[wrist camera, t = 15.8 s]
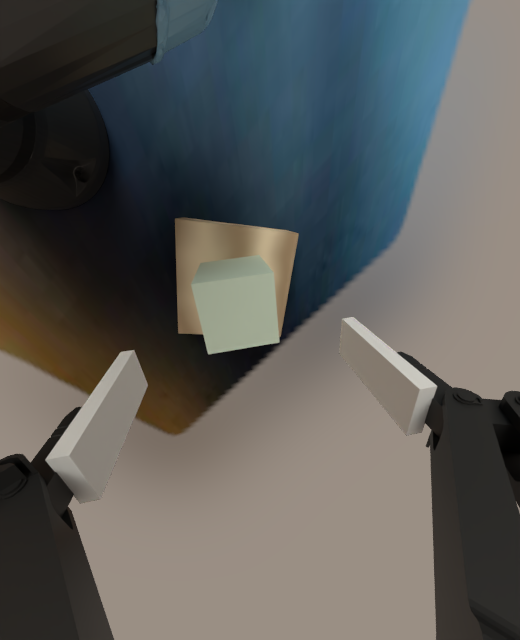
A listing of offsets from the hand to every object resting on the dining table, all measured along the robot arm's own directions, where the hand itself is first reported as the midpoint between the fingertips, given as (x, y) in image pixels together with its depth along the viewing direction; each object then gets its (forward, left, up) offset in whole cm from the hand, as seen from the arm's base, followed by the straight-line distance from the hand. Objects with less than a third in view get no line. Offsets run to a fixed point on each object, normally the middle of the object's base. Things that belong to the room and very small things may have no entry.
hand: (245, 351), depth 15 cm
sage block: (0, 0, -16) cm, 16 cm away
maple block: (0, 0, -22) cm, 22 cm away
